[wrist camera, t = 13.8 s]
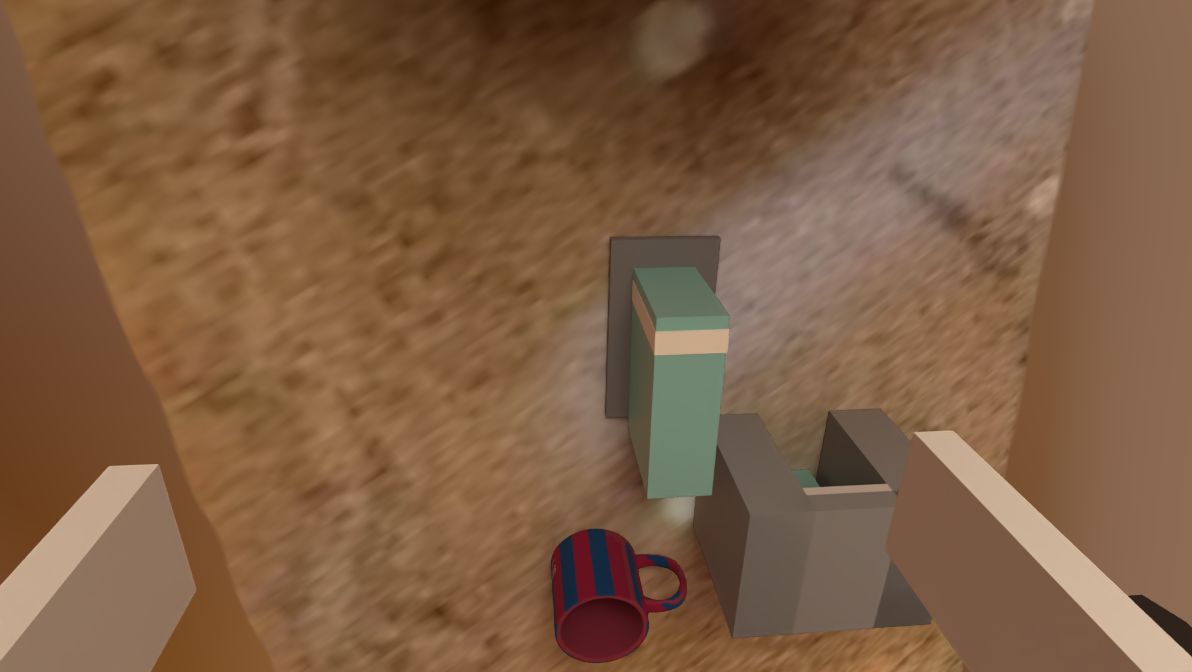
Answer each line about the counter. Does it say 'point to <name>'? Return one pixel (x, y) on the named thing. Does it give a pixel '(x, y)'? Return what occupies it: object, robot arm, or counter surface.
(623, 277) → the pad
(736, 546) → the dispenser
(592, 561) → the mug
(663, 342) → the banded gift box
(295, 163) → the counter surface
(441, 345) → the counter surface
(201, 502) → the counter surface
